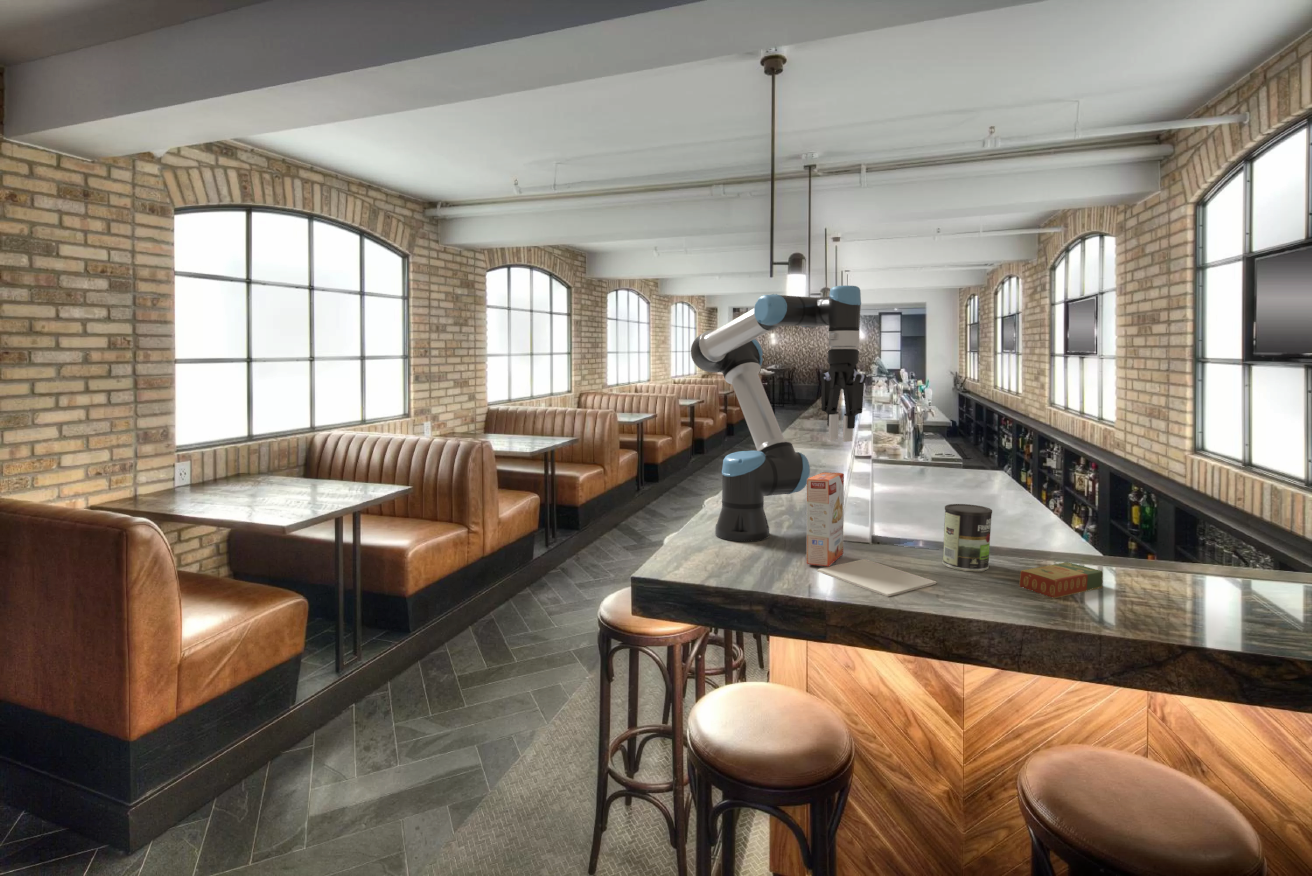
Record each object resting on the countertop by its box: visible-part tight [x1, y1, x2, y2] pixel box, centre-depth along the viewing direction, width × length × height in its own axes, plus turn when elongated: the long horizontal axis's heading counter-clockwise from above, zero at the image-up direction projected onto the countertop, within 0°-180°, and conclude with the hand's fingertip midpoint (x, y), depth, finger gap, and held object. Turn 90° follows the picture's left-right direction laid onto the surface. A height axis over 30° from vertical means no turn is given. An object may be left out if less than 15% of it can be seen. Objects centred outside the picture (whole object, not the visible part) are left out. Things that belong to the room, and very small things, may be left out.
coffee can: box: [942, 503, 993, 573], centre depth 160 cm, size 10×10×14 cm
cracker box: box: [806, 472, 845, 567], centre depth 163 cm, size 14×6×21 cm, turn 151°
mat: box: [816, 558, 937, 597], centre depth 151 cm, size 20×16×1 cm
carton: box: [1018, 561, 1104, 599], centre depth 145 cm, size 8×16×4 cm, turn 115°
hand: (840, 440), depth 171 cm, fingers open, 4 cm apart
